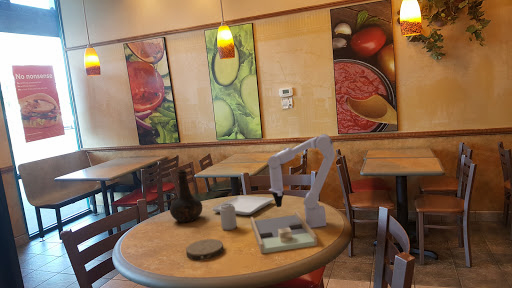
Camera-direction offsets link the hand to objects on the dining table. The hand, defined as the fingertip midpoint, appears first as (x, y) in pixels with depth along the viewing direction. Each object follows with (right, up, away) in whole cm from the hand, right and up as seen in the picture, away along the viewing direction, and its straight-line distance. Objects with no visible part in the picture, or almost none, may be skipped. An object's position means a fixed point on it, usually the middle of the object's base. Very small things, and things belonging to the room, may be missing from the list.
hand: (278, 206), depth 188 cm
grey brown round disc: (-33, -17, -22) cm, 43 cm away
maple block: (+1, -10, -22) cm, 25 cm away
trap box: (0, -11, -11) cm, 15 cm away
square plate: (-18, -7, +35) cm, 40 cm away
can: (-24, -12, +4) cm, 27 cm away
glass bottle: (-49, -11, +25) cm, 56 cm away
